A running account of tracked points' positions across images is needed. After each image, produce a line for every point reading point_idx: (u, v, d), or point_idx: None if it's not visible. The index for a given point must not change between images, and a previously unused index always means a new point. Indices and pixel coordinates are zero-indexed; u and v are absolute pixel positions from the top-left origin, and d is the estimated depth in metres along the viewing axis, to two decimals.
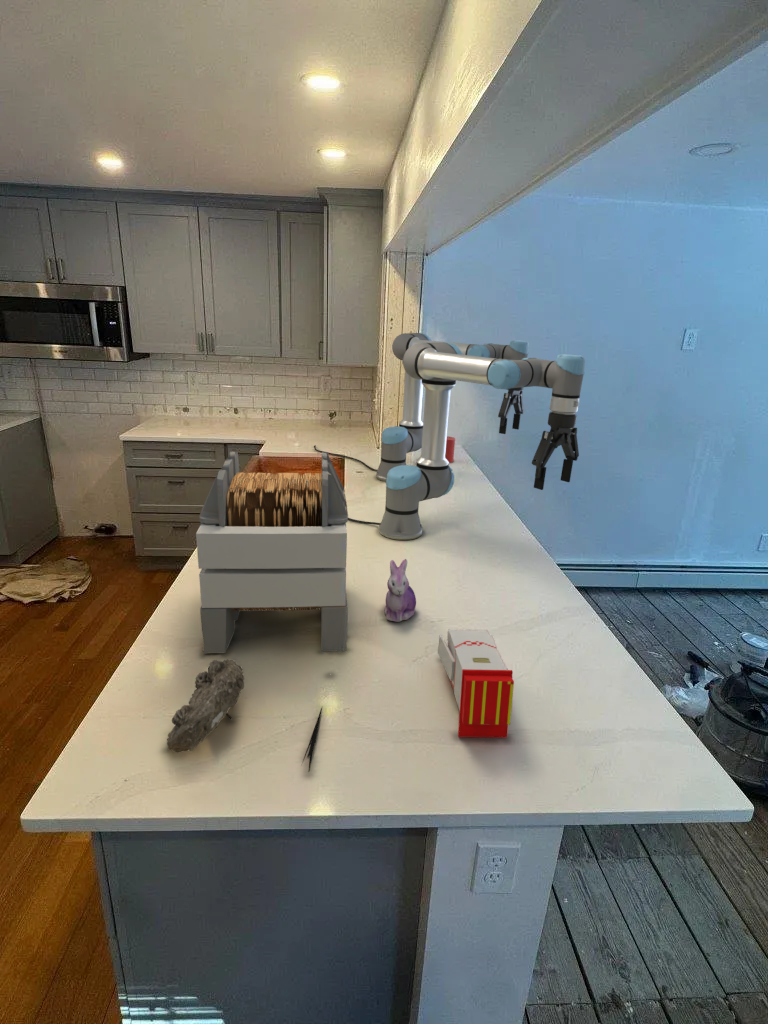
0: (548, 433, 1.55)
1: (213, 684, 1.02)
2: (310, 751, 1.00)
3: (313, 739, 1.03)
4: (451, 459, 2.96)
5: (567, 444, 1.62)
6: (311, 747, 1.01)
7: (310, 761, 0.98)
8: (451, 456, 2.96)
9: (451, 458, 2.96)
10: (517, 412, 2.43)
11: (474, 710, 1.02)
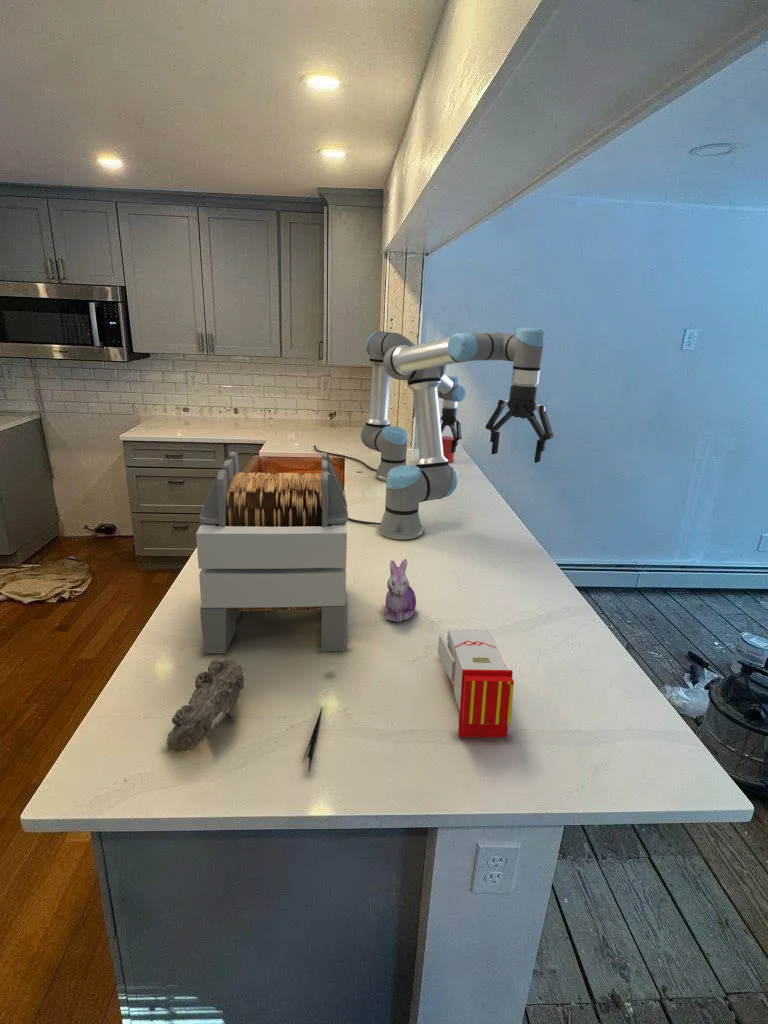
0: (545, 406, 1.60)
1: (213, 684, 1.02)
2: (310, 751, 1.00)
3: (313, 739, 1.03)
4: (451, 459, 2.96)
5: (512, 415, 1.67)
6: (311, 747, 1.01)
7: (310, 761, 0.98)
8: (451, 456, 2.96)
9: (451, 458, 2.96)
10: None
11: (474, 710, 1.02)
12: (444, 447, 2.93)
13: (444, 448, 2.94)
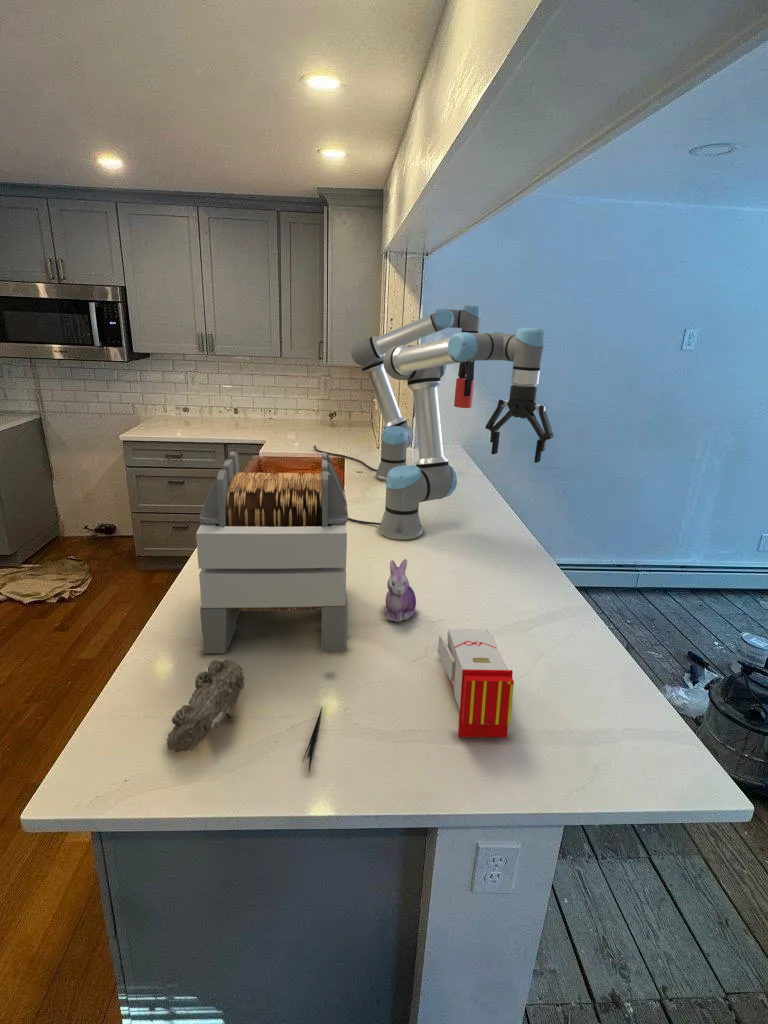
0: (545, 406, 1.60)
1: (213, 684, 1.02)
2: (310, 751, 1.00)
3: (313, 739, 1.03)
4: (464, 403, 2.56)
5: (512, 415, 1.67)
6: (311, 747, 1.01)
7: (310, 761, 0.98)
8: (464, 400, 2.55)
9: (464, 403, 2.56)
10: (462, 377, 2.61)
11: (474, 710, 1.02)
12: (457, 388, 2.56)
13: (456, 390, 2.56)
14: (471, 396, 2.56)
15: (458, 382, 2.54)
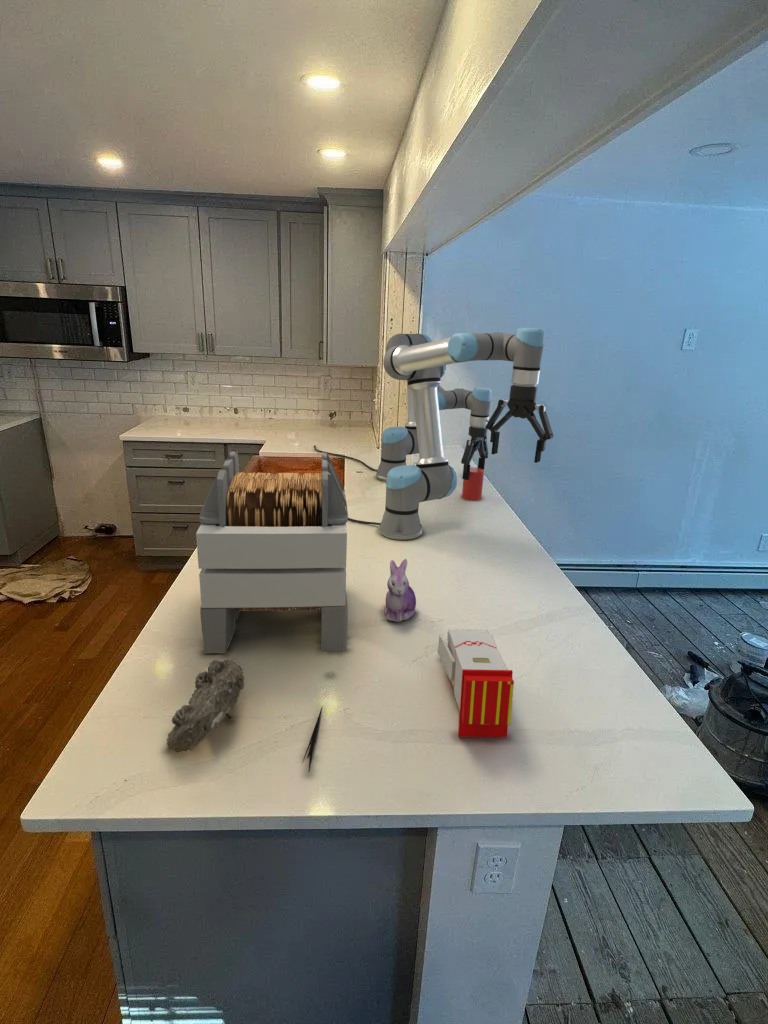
0: (545, 406, 1.60)
1: (213, 684, 1.02)
2: (310, 751, 1.00)
3: (313, 739, 1.03)
4: (465, 494, 2.39)
5: (512, 415, 1.67)
6: (311, 747, 1.01)
7: (310, 761, 0.98)
8: (466, 491, 2.39)
9: (466, 494, 2.39)
10: (482, 456, 2.43)
11: (474, 710, 1.02)
12: None
13: None
14: (474, 488, 2.37)
15: None
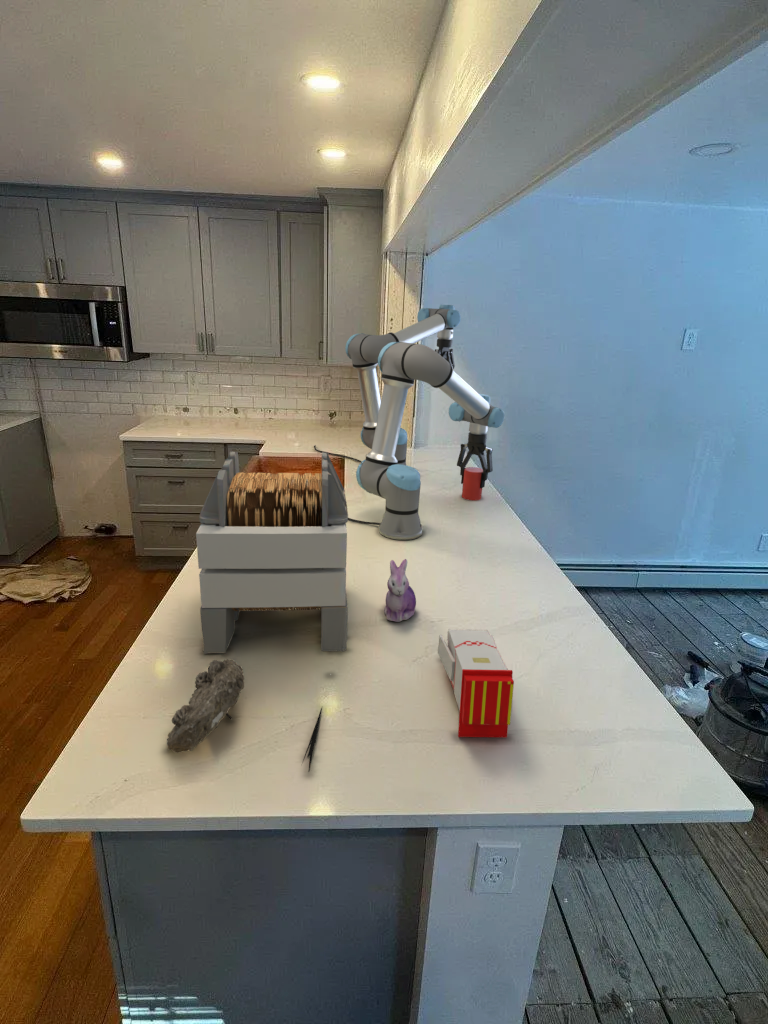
0: (491, 449, 2.32)
1: (213, 684, 1.02)
2: (310, 751, 1.00)
3: (313, 739, 1.03)
4: (465, 494, 2.39)
5: (472, 454, 2.39)
6: (311, 747, 1.01)
7: (310, 761, 0.98)
8: (466, 491, 2.39)
9: (466, 494, 2.39)
10: None
11: (474, 710, 1.02)
12: None
13: None
14: (474, 488, 2.37)
15: (464, 471, 2.40)
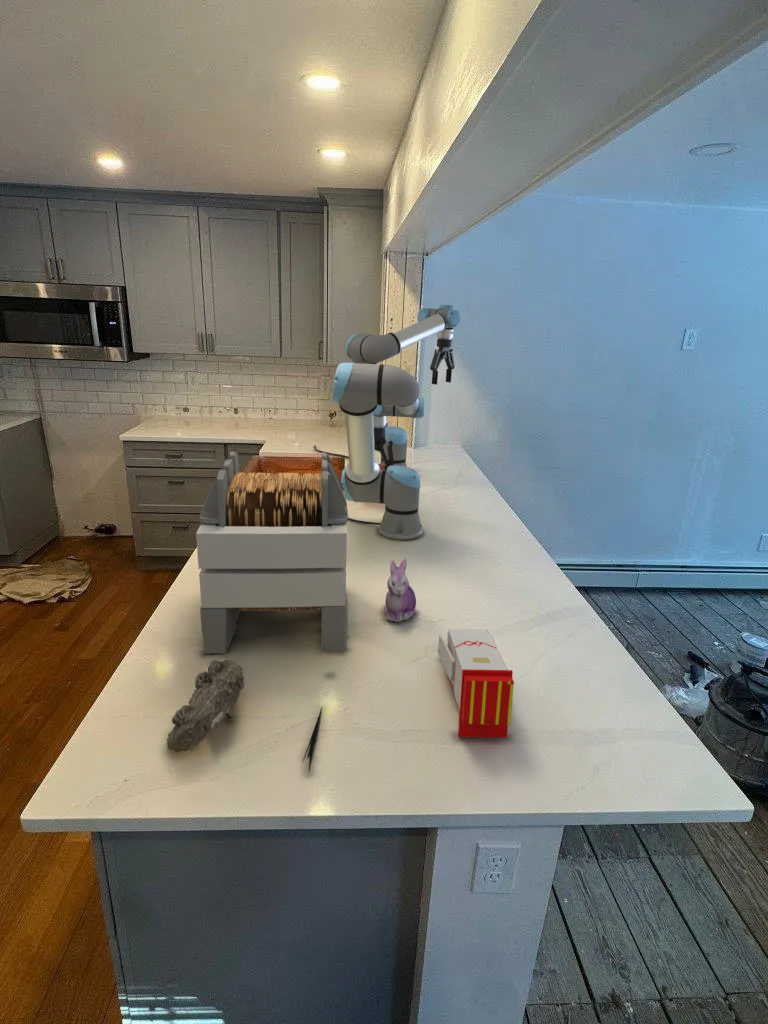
0: None
1: (213, 684, 1.02)
2: (310, 751, 1.00)
3: (313, 739, 1.03)
4: None
5: None
6: (311, 747, 1.01)
7: (310, 761, 0.98)
8: None
9: None
10: (449, 367, 2.85)
11: (474, 710, 1.02)
12: None
13: None
14: None
15: None
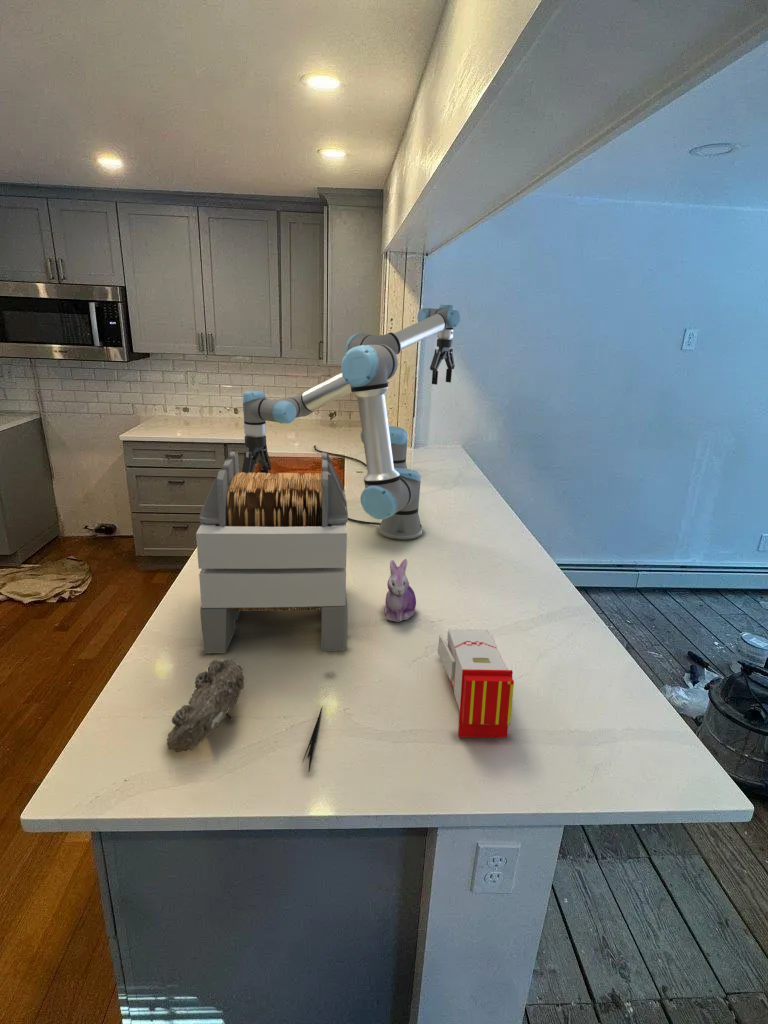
0: None
1: (213, 684, 1.02)
2: (310, 751, 1.00)
3: (313, 739, 1.03)
4: None
5: None
6: (311, 747, 1.01)
7: (310, 761, 0.98)
8: None
9: None
10: (449, 367, 2.85)
11: (474, 710, 1.02)
12: None
13: None
14: None
15: None
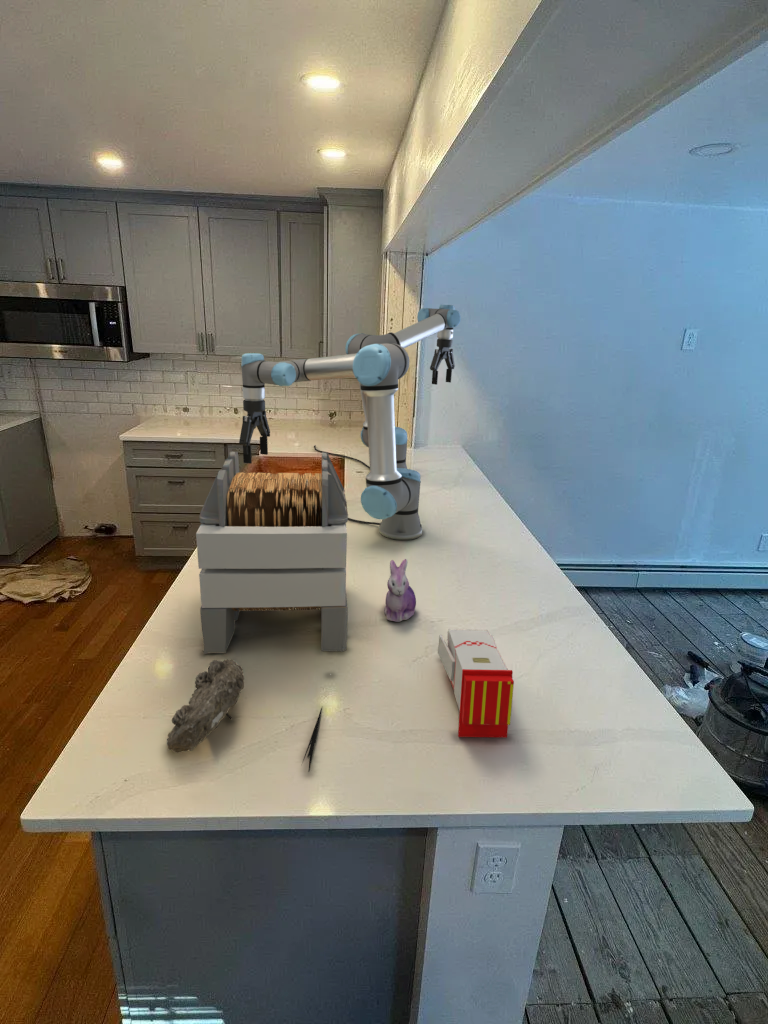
0: None
1: (213, 684, 1.02)
2: (310, 751, 1.00)
3: (313, 739, 1.03)
4: None
5: None
6: (311, 747, 1.01)
7: (310, 761, 0.98)
8: None
9: None
10: (449, 367, 2.85)
11: (474, 710, 1.02)
12: None
13: None
14: None
15: None
